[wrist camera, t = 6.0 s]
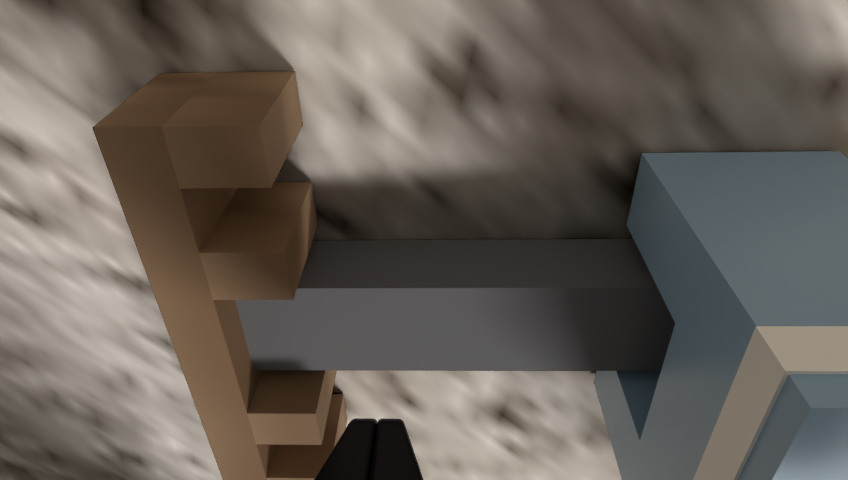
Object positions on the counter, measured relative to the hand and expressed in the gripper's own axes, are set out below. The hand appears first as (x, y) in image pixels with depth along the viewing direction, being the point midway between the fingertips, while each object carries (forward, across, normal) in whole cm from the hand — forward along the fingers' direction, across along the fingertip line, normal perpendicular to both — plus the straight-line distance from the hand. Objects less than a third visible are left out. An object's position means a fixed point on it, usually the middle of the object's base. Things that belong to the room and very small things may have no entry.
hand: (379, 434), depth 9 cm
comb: (+4, +2, 0) cm, 5 cm away
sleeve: (+4, -7, 0) cm, 8 cm away
